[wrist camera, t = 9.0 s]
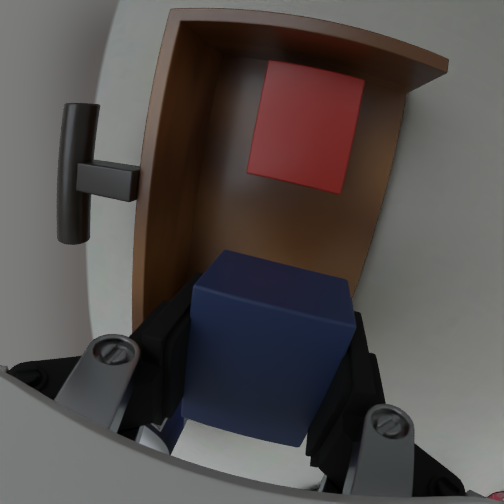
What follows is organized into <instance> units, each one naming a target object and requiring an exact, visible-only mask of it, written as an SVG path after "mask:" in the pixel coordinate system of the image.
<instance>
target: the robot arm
mask: <svg viewBox="0 0 504 504" xmlns="http://www.w3.org/2000/svg"><path fill="white" fill-rule="evenodd" d="M203 274H204V273H200V272H196V273H195V274H194V276H193V277H192V278H191V279H190V280H189V281H188V282H187V283H186V284H185V286H184V287H183V288H182V289H181V290H180V291H179V292H178V293H177V294H176V296H175V297H174V298H173V299H172V300H171V301H170V302H168V301H162V302H161V303H160V304H159V305H158V306H157V307H156V308H155V309H154V311H153V312H152V313H151V314H150V315H149V316H148V317H147V318H146V319H145V320H144V321H143V322H142V323H141V325H140V326H139V327H138V328H137V329H136V330H135V331H134V332H133V333H132V334H131V335H130V336H129V337H126V336H124V335H119V334H107V335H103V336H99V337H98V338H96V339H94V340H93V341H92V342H91V343H90V344H89V346H88V347H87V349H86V350H85V352H84V353H83V355H82V356H76V357H68V358H59V359H50V360H41V361H30V362H24V363H20V364H18V365H16V366H14V367H13V368H12V369H10V370H8V367H7V366H1V365H0V504H504V502H501V501H497V500H493V499H489V498H486V497H484V496H482V495H480V494H478V493H476V492H473V491H471V490H469V491H467V492H465V489H464V485H463V484H462V482H461V480H460V479H459V478H458V477H457V476H456V475H454V474H453V473H452V472H451V471H449V470H448V469H447V468H445V467H444V466H443V465H441V464H440V463H439V462H438V461H436V460H435V459H434V458H432V457H431V456H430V455H429V454H427V453H426V452H425V451H424V450H422V449H421V448H420V447H419V446H417V445H416V444H415V443H414V424H413V422H412V420H411V418H410V417H409V415H408V414H407V413H406V412H404V411H403V410H401V409H400V408H398V407H396V406H393V405H389V404H385V398H384V393H383V388H382V383H381V377H380V373H379V368H378V363H377V358H376V355H375V354H373V353H369V351H368V346H367V341H366V336H365V331H364V326H363V321H362V317H361V313H360V312H355V311H354V315H355V320H356V330H355V333H354V335H353V337H352V340H351V342H350V345H349V347H348V349H347V352H346V354H345V356H344V357H342V360H341V362H340V364H339V366H338V369H337V371H336V373H335V375H334V378H333V380H332V382H331V384H330V386H329V388H328V390H327V392H326V395H325V397H324V399H323V401H322V403H321V405H320V407H319V409H318V411H317V413H316V415H315V417H314V419H313V421H312V423H311V424H310V426H309V428H308V434H307V444H306V456H311V462H310V466H312V467H319V469H320V470H321V471H322V472H323V473H324V476H323V478H322V481H321V484H320V487H319V490H318V492H317V491H310V490H303V489H297V488H291V487H285V486H280V485H274V484H269V483H265V482H260V481H255V480H251V479H247V478H243V477H239V476H235V475H231V474H227V473H224V472H220V471H217V470H213V469H210V468H206V467H203V466H200V465H197V464H194V463H191V462H188V461H185V460H182V459H179V458H176V457H173V456H171V455H168V454H165V453H162V452H160V451H157V450H155V449H152V448H150V447H147V446H145V445H142V444H140V443H139V442H140V439H141V436H142V432H143V429H144V425H148V424H152V423H154V424H156V425H159V426H161V425H162V423H163V422H164V420H165V418H168V419H171V418H172V417H173V415H174V413H175V411H176V409H177V408H178V406H179V404H180V402H181V400H182V398H183V395H184V382H185V371H186V360H187V350H188V340H189V330H190V321H191V318H190V308H191V300H192V291H193V286H194V284H195V283H196V282H197V281H198V279H199V278H200V277H201V276H202V275H203Z"/></svg>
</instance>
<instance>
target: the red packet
mask: <svg viewBox="0 0 504 504" xmlns="http://www.w3.org/2000/svg"><path fill="white" fill-rule="evenodd" d="M364 85H365V80H364V79H361V78H357V77H354V76H350V75H346V74H342V73H338V72H334V71H329V70H325V69H320V68H316V67H311V66H306V65H300V64H295V63H289V62H283V61H277V60H269V61H268V64H267V69H266V74H265V79H264V84H263V89H262V94H261V98H260V103H259V109H258V114H257V119H256V124H255V129H254V134H253V139H252V144H251V149H250V155H249V160H248V165H247V171H246V172H247V173H248V174H252V175H257V176H261V177H266V178H271V179H275V180H280V181H284V182H288V183H293V184H297V185H301V186H305V187H309V188H314V189H318V190H322V191H326V192H330V193H333V194H337V195H340V194H341V191H342V187H343V183H344V179H345V175H346V171H347V166H348V162H349V158H350V153H351V149H352V144H353V140H354V135H355V130H356V125H357V121H358V116H359V111H360V106H361V101H362V95H363V90H364Z"/></svg>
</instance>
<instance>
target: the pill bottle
mask: <svg viewBox="0 0 504 504" xmlns="http://www.w3.org/2000/svg"><path fill="white" fill-rule="evenodd" d="M181 407H182V400H181V402H180V404H179V406H178V408H177V409H176V411H175V413H174V415H173V417H172V418H171V419H168V418H165V420H164V422H163V423H162V425H161V426H159V425H156V424H154V423H152V424H148V425H144V429H143V432H142V436H141V439H140V442H139V443H140V444H142V445H145V446H147V447H150V448H152V449H155V450H157V451H160V452H162V453H165V454H168V455H171V453H172V451H173V449H174V447H175V445H176V443H177V440H178V438H179V436H180V434H181V432H182V430H183V428H184V426H185V424H186V421H187V419H188V418H185V417H182V416H181Z"/></svg>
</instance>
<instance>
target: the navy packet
mask: <svg viewBox="0 0 504 504" xmlns="http://www.w3.org/2000/svg"><path fill="white" fill-rule="evenodd" d="M190 318H191V321H190V330H189V340H188V350H187V360H186V371H185V382H184V395H183V398H182V407H181V416H182V417H185V418H188V419H191V420H194V421H197V422H200V423H203V424H206V425H209V426H212V427H216V428H219V429H223V430H226V431H230V432H233V433H237V434H241V435H244V436H248V437H252V438H256V439H261V440H265V441H269V442H274V443H278V444H283V445H288V446H293V447H300V445H301V444H302V442H303V440H304V438H305V436H306V434H307V433H308V428H309V426H310V424H311V423H312V421H313V419H314V417H315V415H316V413H317V411H318V409H319V407H320V405H321V403H322V401H323V399H324V397H325V395H326V392H327V390H328V388H329V386H330V384H331V382H332V380H333V378H334V375H335V373H336V371H337V369H338V366H339V364H340V362H341V360H342V357H344V356H345V354H346V352H347V349H348V347H349V345H350V342H351V340H352V337H353V335H354V333H355V330H356V320H355V315H354V310H353V304H352V299H351V294H350V289H349V284H348V281H347V280H346V279H342V278H338V277H334V276H330V275H326V274H322V273H318V272H314V271H310V270H306V269H302V268H298V267H294V266H290V265H286V264H282V263H278V262H274V261H270V260H266V259H262V258H258V257H253V256H249V255H245V254H241V253H237V252H233V251H229V250H223V251H222V253H221V254H220V255H219V256H218V257H217V258H216V260H215V261H214V262H213V263H212V264H211V265H210V267H209V268H208V269H207V270H206V271H205V272H204V274H203V275H202V276H201V277H200V278H199V279H198V281H197V282H196V283H195V284H194V286H193V291H192V300H191V308H190Z"/></svg>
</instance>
